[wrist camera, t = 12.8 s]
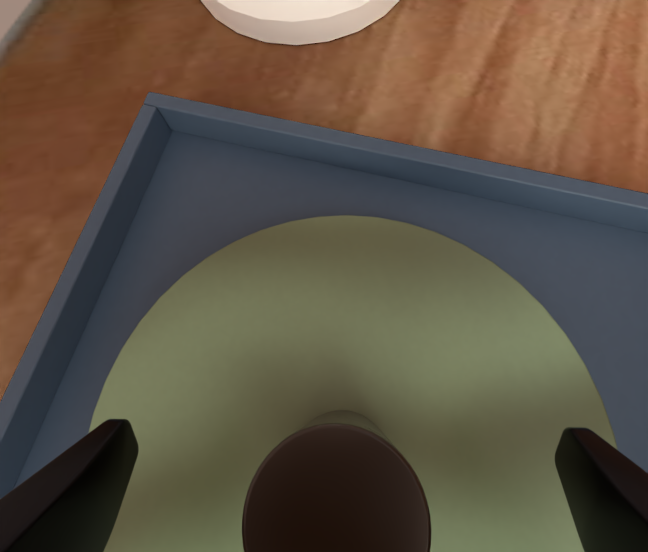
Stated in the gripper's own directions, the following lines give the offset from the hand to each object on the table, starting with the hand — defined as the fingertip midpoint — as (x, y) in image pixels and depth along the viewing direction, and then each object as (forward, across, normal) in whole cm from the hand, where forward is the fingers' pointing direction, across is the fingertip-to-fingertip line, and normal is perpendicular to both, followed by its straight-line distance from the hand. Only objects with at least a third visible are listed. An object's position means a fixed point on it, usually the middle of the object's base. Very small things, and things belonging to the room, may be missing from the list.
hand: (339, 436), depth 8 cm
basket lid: (+2, 0, +4) cm, 4 cm away
